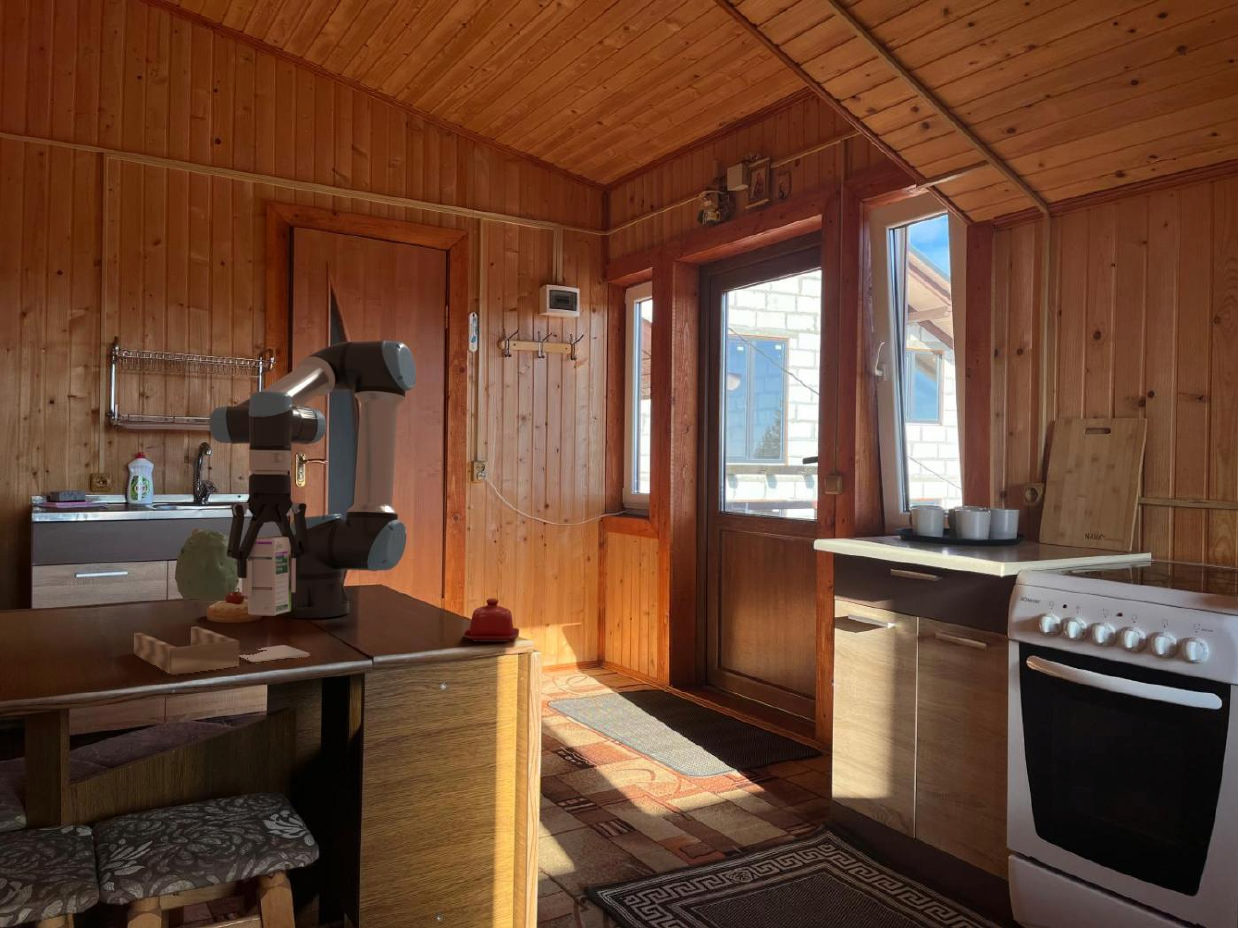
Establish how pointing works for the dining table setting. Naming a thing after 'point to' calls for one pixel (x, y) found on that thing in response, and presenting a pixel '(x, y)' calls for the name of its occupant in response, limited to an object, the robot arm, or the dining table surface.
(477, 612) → the butter dish
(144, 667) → the dining table surface
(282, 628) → the dining table surface
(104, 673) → the dining table surface
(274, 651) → the coaster
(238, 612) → the pastry
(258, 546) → the syrup box
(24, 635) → the dining table surface
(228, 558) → the green lumpy fruit
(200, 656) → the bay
